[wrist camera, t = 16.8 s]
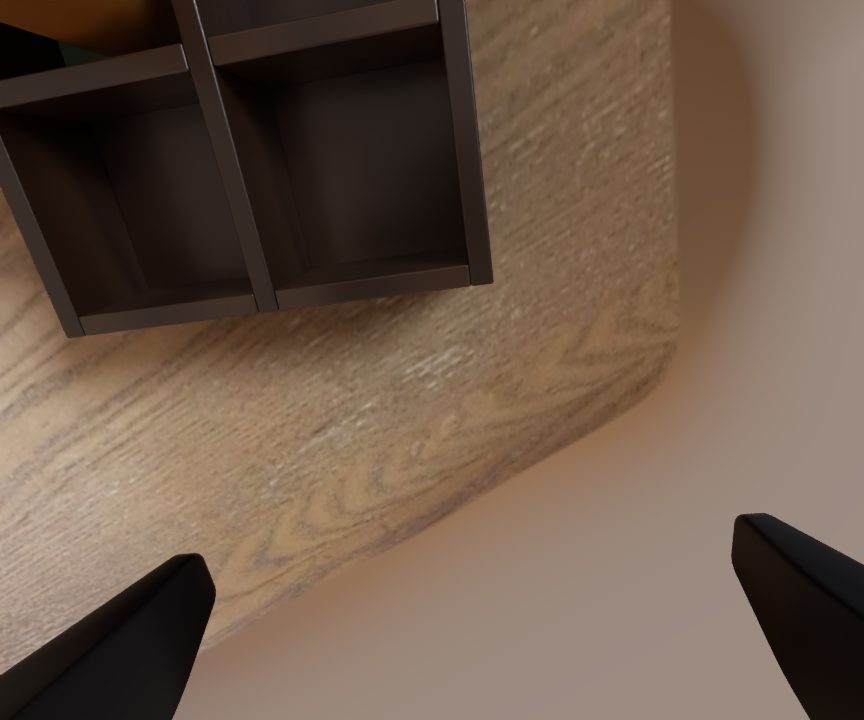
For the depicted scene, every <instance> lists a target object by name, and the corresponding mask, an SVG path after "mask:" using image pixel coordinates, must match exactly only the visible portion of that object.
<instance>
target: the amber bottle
mask: <svg viewBox="0 0 864 720" xmlns="http://www.w3.org/2000/svg"><path fill="white" fill-rule="evenodd" d="M0 22H1V23H5V24H8V25H11V26H14V27H17V28H20V29H23V30H26V31H29V32H32V33H36V34H39V35H42V36H45V37H48V38H51V39H54V40H57V41H60V42H63V43H67V44H70V45H73V46H76V47H79V48H82V49H85V50H88V51H91V52H94V53H97V54H101V55H104V56H107V57H115V56H119V55H124V54H129V53H134V52H139V51H144V50H149V49H154V48H159V47H164V46H169V45H174V44H179V43H181V44H183V42H182V39H181V35H180V32H179V28H178V25H177V21H176V18H175V14H174V11H173V7H172V4H171V0H0Z"/></svg>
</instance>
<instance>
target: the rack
mask: <svg viewBox="0 0 864 720" xmlns="http://www.w3.org/2000/svg"><path fill="white" fill-rule="evenodd" d="M171 4H172V7H173V11H174V14H175V18H176V21H177V25H178V28H179V32H180V35H181V39H182V42H183V44H181V43H179V44H174V45H169V46H164V47H159V48H154V49H149V50H144V51H139V52H134V53H129V54H124V55H119V56H115V57H107V56H104V55H101V54H97V53H94V52H91V51H88V50H85V49H82V48H79V47H76V46H73V45H70V44H67V43H63V42H60V41H57V40H54V39H51V38H48V37H45V36H42V35H39V34H36V33H32V32H29V31H26V30H23V29H20V28H17V27H14V26H11V25H8V24H5V23H1V22H0V187H1V189H2V191H3V193H4V196H5V198H6V200H7V202H8V205H9V207H10V209H11V212H12V214H13V216H14V218H15V221H16V223H17V225H18V227H19V230H20V232H21V234H22V236H23V239H24V241H25V243H26V246H27V248H28V250H29V252H30V255H31V257H32V259H33V261H34V264H35V266H36V268H37V271H38V273H39V275H40V277H41V280H42V282H43V284H44V286H45V289H46V291H47V293H48V295H49V298H50V300H51V302H52V305H53V307H54V309H55V311H56V314H57V316H58V318H59V320H60V323H61V325H62V327H63V330H64V332H65V334H66V336H67V338H75V337H83V336H86V335H97V334H105V333H112V332H120V331H128V330H136V329H143V328H151V327H159V326H166V325H174V324H182V323H190V322H197V321H205V320H213V319H221V318H228V317H236V316H244V315H252V314H258V313H259V312H260V313H267V312H275V311H278V310H282V311H283V310H291V309H298V308H306V307H314V306H322V305H329V304H337V303H345V302H353V301H360V300H368V299H376V298H383V297H391V296H399V295H407V294H414V293H422V292H430V291H438V290H445V289H453V288H461V287H469V286H471V285H472V286H477V285H485V284H492V283H493V282H494V280H493V271H492V261H491V251H490V241H489V231H488V221H487V211H486V201H485V192H484V182H483V172H482V162H481V152H480V142H479V132H478V123H477V113H476V103H475V93H474V83H473V73H472V63H471V53H470V44H469V34H468V24H467V14H466V4H465V0H171Z"/></svg>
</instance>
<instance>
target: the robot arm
mask: <svg viewBox="0 0 864 720" xmlns="http://www.w3.org/2000/svg"><path fill="white" fill-rule="evenodd" d="M731 557H732V564H733V567H734V570H735V573H736V575H737V577H738V579H739V581H740V583H741V585H742V587H743V590H744V592H745V594H746V596H747V598H748V600H749V603H750V605H751V607H752V609H753V611H754V613H755V615H756V617H757V619H758V622H759V624H760V626H761V628H762V630H763V632H764V634H765V637H766V639H767V641H768V643H769V645H770V647H771V649H772V651H773V654H774V656H775V658H776V660H777V662H778V664H779V666H780V668H781V670H782V672H783V674H784V675H785V677H786V679H787V681H788V683H789V684H790V686H791V688H792V689H793V691H794V693H795V695H796V696H797V698H798V700H799V702H800V703H801V705H802V706H803V708H804V710H805V712H806V713H807V715H808V717H809V718H810V720H864V565H863V564H861V563H859V562H857V561H856V560H854V559H852V558H850V557H848V556H846V555H844V554H843V553H841V552H839V551H837V550H835V549H833V548H831V547H829V546H828V545H826V544H823V543H822V542H820V541H818V540H816V539H814V538H813V537H811V536H808V535H807V534H805V533H803V532H801V531H799V530H797V529H796V528H794V527H792V526H790V525H788V524H786V523H784V522H782V521H780V520H779V519H777V518H775V517H773V516H771V515H769V514H766V513H755V514H742V515H739V516H738V517H737V518H736V519H735V523H734V533H733V543H732V554H731ZM215 597H216V589H215V585H214V582H213V580H212V577H211V575H210V572H209V570H208V568H207V565H206V563H205V560H204V558H203V557H202V556H201V555H200V554H197V553H189V554H179V555H175V556H173V557H172V558H170V559H169V560H167V561H166V562H164V563H163V564H162V565H160V566H159V567H157V568H156V569H154V570H153V571H151V572H150V573H148V574H147V575H146V576H144V577H143V578H141V579H140V580H138V581H137V582H135V583H134V584H132V585H131V586H130V587H128V588H127V589H125V590H124V591H122V592H121V593H119V594H118V595H116V596H115V597H114V598H112V599H111V600H109V601H108V602H106V603H105V604H103V605H102V606H100V607H99V608H98V609H96V610H95V611H93V612H92V613H90V614H89V615H87V616H86V617H84V618H83V619H81V620H80V621H79V622H77V623H76V624H74V625H73V626H71V627H70V628H68V629H67V630H65V631H64V632H63V633H61V634H60V635H58V636H57V637H55V638H54V639H52V640H51V641H49V642H48V643H47V644H45V645H44V646H42V647H41V648H39V649H38V650H36V651H35V652H33V653H32V654H31V655H29V656H28V657H26V658H25V659H23V660H22V661H20V662H19V663H17V664H16V665H15V666H13V667H12V668H10V669H9V670H7V671H6V672H4V673H3V674H1V675H0V720H172V718H173V716H174V714H175V711H176V709H177V707H178V704H179V702H180V699H181V697H182V694H183V692H184V689H185V687H186V684H187V681H188V679H189V676H190V673H191V670H192V667H193V664H194V661H195V658H196V655H197V652H198V650H199V647H200V644H201V641H202V638H203V635H204V632H205V629H206V626H207V623H208V620H209V617H210V614H211V611H212V609H213V606H214V602H215Z"/></svg>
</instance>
